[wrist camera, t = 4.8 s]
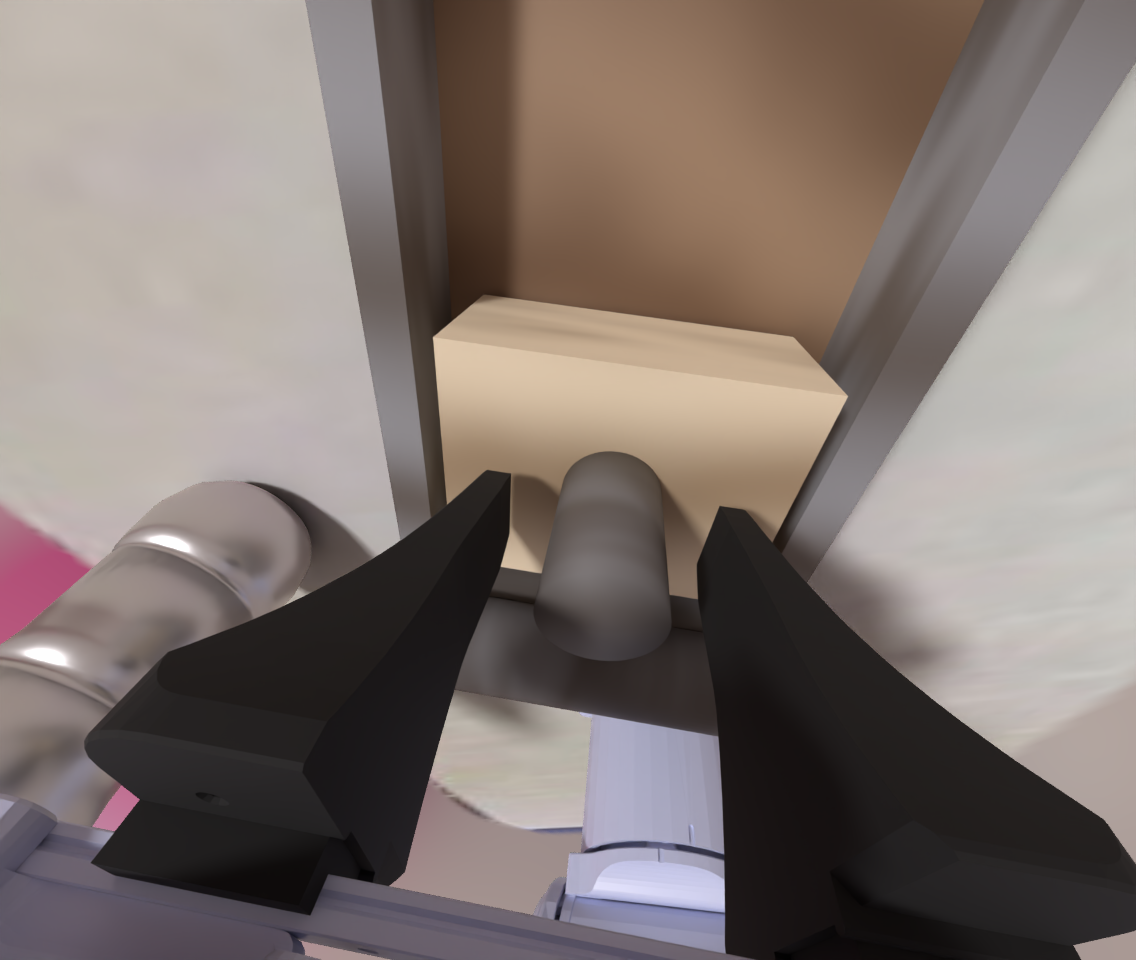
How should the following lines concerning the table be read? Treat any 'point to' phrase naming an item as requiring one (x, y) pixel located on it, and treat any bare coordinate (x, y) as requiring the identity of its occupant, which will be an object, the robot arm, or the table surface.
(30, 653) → the plastic bottle
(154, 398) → the table surface
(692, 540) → the tan wooden block
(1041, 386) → the table surface
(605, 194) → the bay
